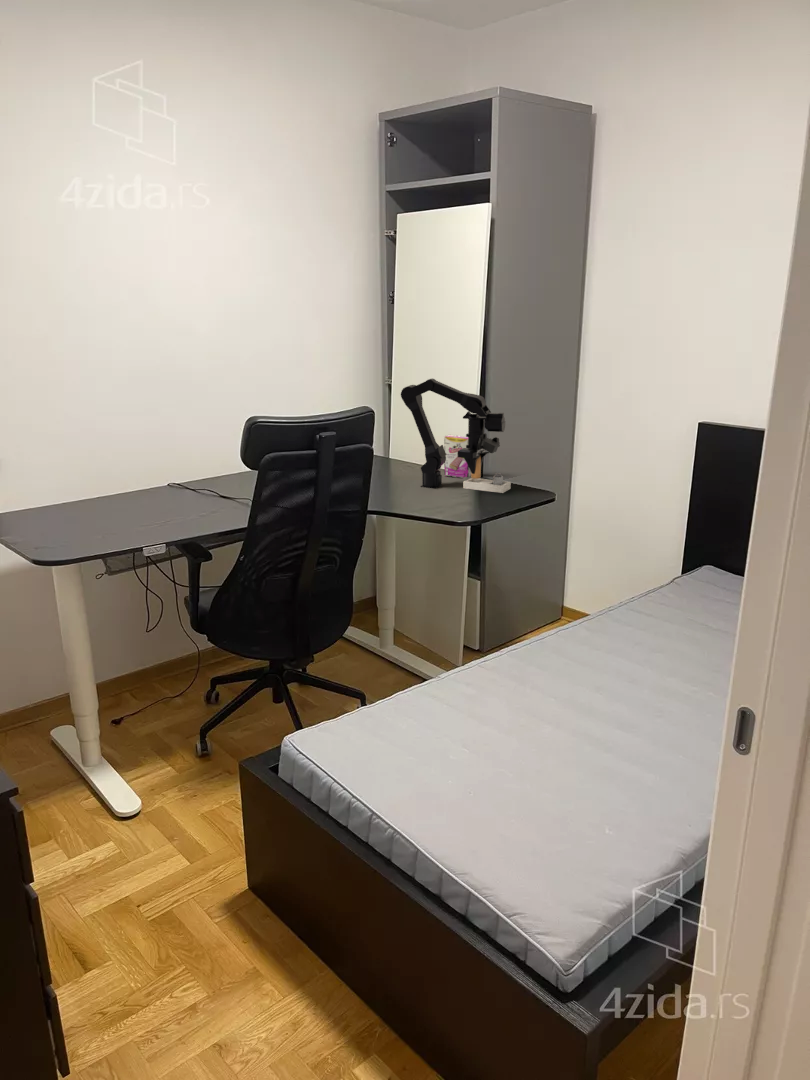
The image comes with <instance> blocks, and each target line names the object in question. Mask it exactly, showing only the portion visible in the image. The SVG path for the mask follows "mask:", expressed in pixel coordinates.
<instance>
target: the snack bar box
mask: <svg viewBox="0 0 810 1080" xmlns="http://www.w3.org/2000/svg"><path fill="white" fill-rule="evenodd" d="M443 437H444V438H443V439H444V440H443V441H444V442H443V443H444V444H443V447H444V451H445V453H446V454H447V455H446V461H445V463H444V464H443V465H444V470H443V471H444V474H443V475H450V476H456V477H463V478H462V479H464V478H471V471H470V469H469V466H468V464H467V462H466V461H465V459H464V458H460V457H458V451H459V450H460V449H463V448H466V445H468V437H466V435H459V434H448V435H445V436H443Z"/></svg>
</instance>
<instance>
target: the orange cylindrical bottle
mask: <svg viewBox="0 0 810 1080" xmlns="http://www.w3.org/2000/svg"><path fill="white" fill-rule="evenodd" d="M477 456H479V453H477ZM481 470H482V465H481V456H480V457H479V458H478V459H477V462H476V470H475V474H472V473H471V476H470V478H474V479H478V478H479V479H482V478H481V476H482V473H481V472H482V471H481Z"/></svg>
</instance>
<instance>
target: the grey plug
mask: <svg viewBox="0 0 810 1080" xmlns="http://www.w3.org/2000/svg"><path fill="white" fill-rule="evenodd" d="M492 480H493V484H494V485H503V481H504V476H503V475H502V473H501V472H496V473H494V475H493V477H492Z"/></svg>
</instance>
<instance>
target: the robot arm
mask: <svg viewBox="0 0 810 1080" xmlns="http://www.w3.org/2000/svg"><path fill="white" fill-rule="evenodd" d="M429 391H430V392H432V393H435V394H437V395H438V396H439V395H440V396H442V397H443V398H446V399H449V400H451V401H453V402H455V403H457V404H459V406H461V407H462V408H464V409H465V410H467V412H466V413H465V414H464V415H463V416H462V419H465V420H466V419H467V420H468V423H467V424H468V426H467V428H468V429H467V430H468V431H467V432H468V433H466V434H465V436H466V437H468V445H466V448H463V449H460V450H459V451H458V457H460V458H464V459H465V461H466V462H467V464H468V466H469V469H470V471H471V473H472V474H475V470H476V462H477V459H478V458H479V457H480V456H481V466H482V465H483V461H484V458H485V457H486V456H487V455H488V454H493V453H496V452H497V451H498V448H500V446H501V445H500V438H499V437H497V436H494V437H493V438H489V437H488V435H487V432H489V433H490V432H491V433H494V432H495V433H504V431H505V428H506V419H505V415H504V414H505V413H504V412H499V413H498V412H492V411H491V409H489V406H487V403H486V402H487V401H486V399H485V397H483V396H482V395H480V394H479V395H478V394H475V393H469V392H468V393H467V392H465V391H462V390H459V389H457V388H454V387H452V386H450V385H447V384H446V383H443V382H441V381H438V380H437V379H435V378H427V380H425V381H423V382H421V383H419V384H410V385H407V386H404V387H403V388H402V389H401V392H400V398H401V399H402V401H403V403H404V405H405V406H406V407H407V409H408V410H409V411H410V412H411V414H412V416H413V420H414V422H415V424H416V427H417V430H418V432H419V435H420V438H421V440H422V442H423V445H424V457H425V461H426V462H425V463H424V464H423V465H422V466H421V467H420V471H421V473H422V474H421V475H422V478H421V479H422V484H421V485H420V488H427V489H437V488H440V487H442V486H443V483H442V481H443V480H442V478H443V477H442V474H441V470H440V469H441V468H442V466H443V465H444V463H445V461H446V455H447V454H446V453H445V451H444V444H441V445H439V444H438V442H437V441H436V438H435V436H434V433H433V431H432V428H431V425H430V423H429V421H428V417H427V415H426V412H425V410H424V407H423V395H422V394H424V393H427V392H429ZM485 430H487V432H485ZM477 453H479V456H477Z"/></svg>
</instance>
